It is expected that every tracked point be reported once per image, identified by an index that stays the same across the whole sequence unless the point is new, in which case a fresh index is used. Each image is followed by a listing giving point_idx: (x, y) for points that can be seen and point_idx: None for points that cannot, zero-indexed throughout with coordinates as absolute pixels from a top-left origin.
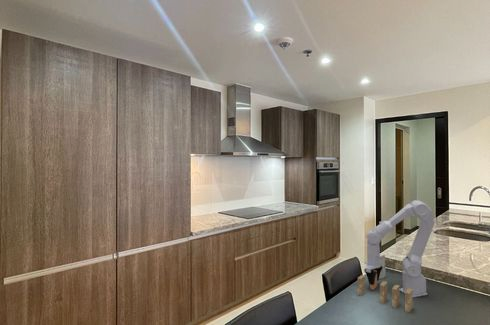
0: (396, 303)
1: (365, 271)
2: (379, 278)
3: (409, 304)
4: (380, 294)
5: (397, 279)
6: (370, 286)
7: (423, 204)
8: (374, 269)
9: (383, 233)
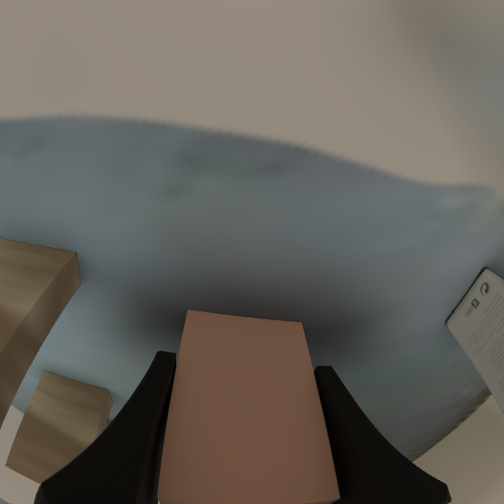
0: None
1: (42, 493)
2: (448, 329)
3: None
4: (27, 413)
5: (451, 385)
6: (184, 331)
7: None
8: (348, 499)
9: None
